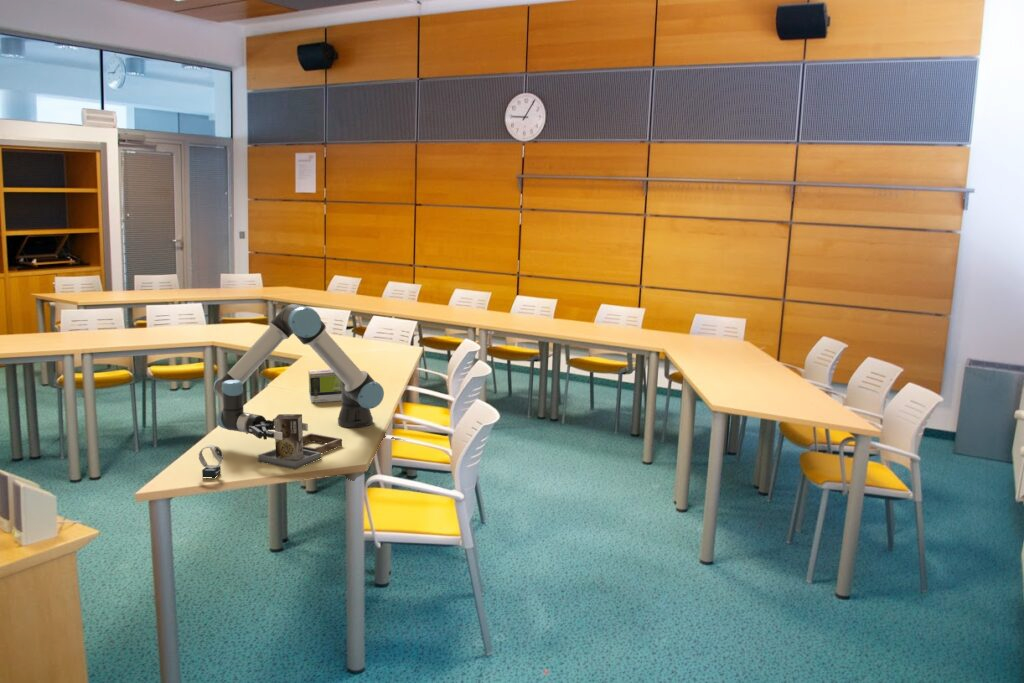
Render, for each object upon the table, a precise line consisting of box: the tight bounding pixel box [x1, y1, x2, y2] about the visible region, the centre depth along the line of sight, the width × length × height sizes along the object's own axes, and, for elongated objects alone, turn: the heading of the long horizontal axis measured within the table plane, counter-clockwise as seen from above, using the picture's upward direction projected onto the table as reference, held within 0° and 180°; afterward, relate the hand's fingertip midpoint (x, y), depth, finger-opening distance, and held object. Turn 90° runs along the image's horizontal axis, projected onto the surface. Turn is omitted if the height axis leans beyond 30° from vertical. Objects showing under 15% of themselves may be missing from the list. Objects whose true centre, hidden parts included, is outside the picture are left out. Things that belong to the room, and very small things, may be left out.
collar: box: [303, 433, 343, 454], centre depth 312 cm, size 16×16×3 cm
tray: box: [257, 448, 322, 470], centre depth 297 cm, size 14×18×2 cm
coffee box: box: [273, 413, 304, 460], centre depth 295 cm, size 9×6×16 cm
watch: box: [198, 444, 224, 478], centre depth 277 cm, size 6×8×11 cm
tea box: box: [308, 368, 342, 403], centre depth 390 cm, size 15×10×15 cm, turn 108°
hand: (294, 431), depth 294 cm, fingers open, 13 cm apart
